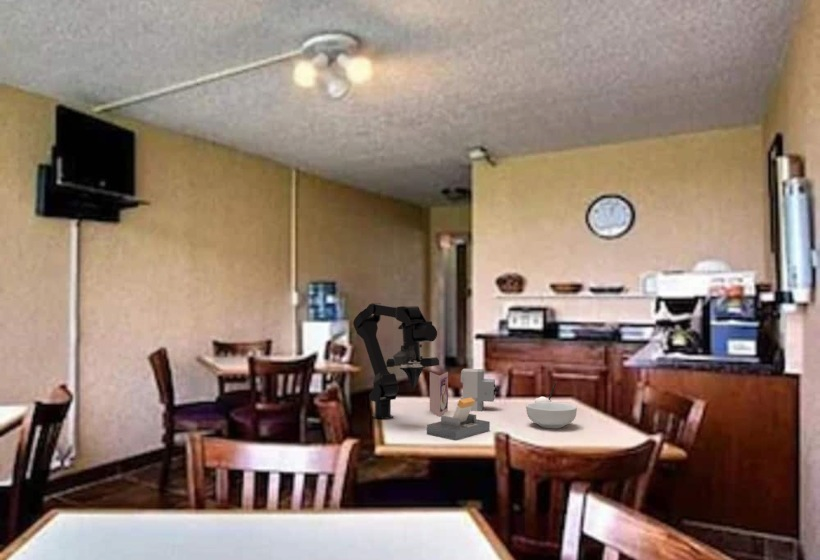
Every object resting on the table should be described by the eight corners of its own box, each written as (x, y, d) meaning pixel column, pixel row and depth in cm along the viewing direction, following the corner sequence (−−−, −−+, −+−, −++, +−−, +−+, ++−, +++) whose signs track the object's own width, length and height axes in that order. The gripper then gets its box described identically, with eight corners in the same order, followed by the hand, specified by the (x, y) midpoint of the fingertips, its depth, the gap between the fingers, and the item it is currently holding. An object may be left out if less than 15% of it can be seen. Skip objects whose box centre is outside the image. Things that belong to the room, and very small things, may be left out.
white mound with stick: (529, 414, 253) (527, 382, 253) (535, 411, 258) (534, 380, 258) (553, 416, 248) (551, 384, 248) (559, 413, 253) (557, 381, 253)
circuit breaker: (497, 411, 256) (498, 372, 256) (460, 410, 259) (460, 371, 259) (499, 408, 264) (499, 369, 264) (462, 406, 266) (463, 368, 266)
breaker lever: (450, 421, 220) (459, 399, 217) (462, 418, 225) (471, 397, 222) (454, 425, 219) (463, 403, 216) (466, 422, 223) (475, 400, 221)
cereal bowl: (580, 423, 236) (580, 403, 236) (571, 433, 221) (571, 412, 221) (533, 419, 243) (533, 399, 243) (520, 428, 228) (520, 407, 228)
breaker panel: (426, 433, 219) (426, 417, 219) (461, 425, 232) (461, 409, 232) (455, 440, 211) (456, 422, 211) (489, 430, 224) (489, 414, 224)
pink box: (441, 417, 246) (441, 375, 246) (422, 415, 248) (422, 374, 248) (449, 411, 257) (450, 371, 257) (431, 409, 259) (431, 370, 259)
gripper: (375, 344, 232) (378, 389, 231) (421, 342, 222) (423, 390, 221) (394, 342, 242) (396, 386, 241) (438, 340, 231) (441, 386, 230)
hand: (413, 387), depth 233 cm, fingers closed
